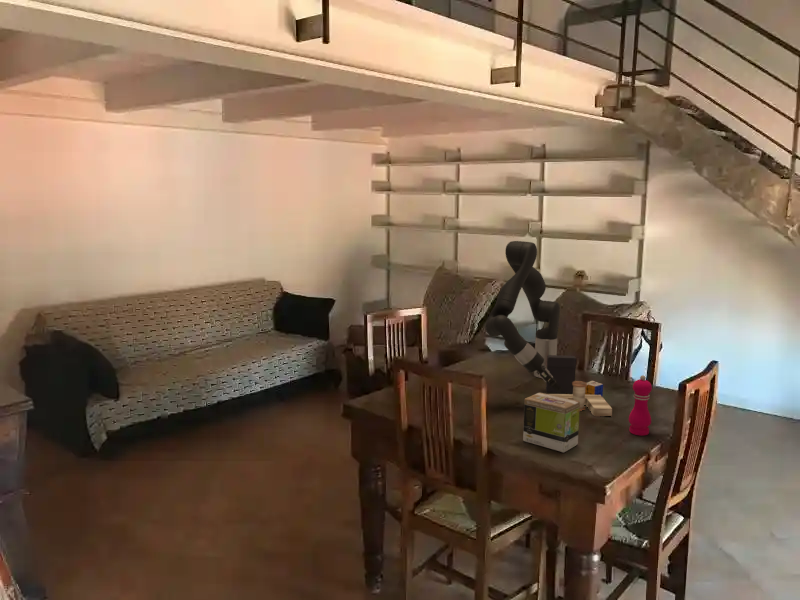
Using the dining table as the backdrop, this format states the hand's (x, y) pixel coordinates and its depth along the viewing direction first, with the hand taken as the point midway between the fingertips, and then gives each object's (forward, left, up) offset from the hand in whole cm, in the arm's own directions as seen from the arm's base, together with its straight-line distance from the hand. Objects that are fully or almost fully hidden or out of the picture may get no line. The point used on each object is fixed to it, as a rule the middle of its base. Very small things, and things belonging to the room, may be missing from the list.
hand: (558, 387), depth 246 cm
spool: (0, +8, -8) cm, 11 cm away
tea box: (+34, -9, -8) cm, 36 cm away
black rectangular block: (-20, +5, -8) cm, 22 cm away
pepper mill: (+23, +23, -8) cm, 34 cm away
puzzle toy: (-15, +17, -9) cm, 24 cm away
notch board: (0, +8, -8) cm, 12 cm away
